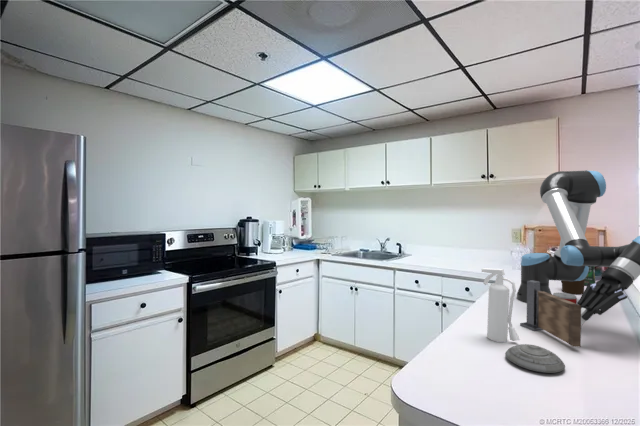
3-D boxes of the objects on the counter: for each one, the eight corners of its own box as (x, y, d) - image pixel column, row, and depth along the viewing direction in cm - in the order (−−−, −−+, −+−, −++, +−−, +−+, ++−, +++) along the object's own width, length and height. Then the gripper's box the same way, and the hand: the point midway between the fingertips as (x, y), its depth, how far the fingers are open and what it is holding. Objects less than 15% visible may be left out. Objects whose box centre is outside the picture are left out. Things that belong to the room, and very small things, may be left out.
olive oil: (590, 294, 172) (591, 247, 172) (573, 295, 170) (574, 248, 170) (572, 289, 183) (572, 245, 182) (555, 290, 181) (556, 245, 180)
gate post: (520, 325, 128) (520, 280, 128) (531, 323, 130) (532, 279, 129) (534, 331, 122) (534, 283, 122) (546, 329, 124) (546, 282, 124)
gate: (534, 325, 124) (535, 290, 124) (540, 325, 124) (541, 290, 124) (573, 346, 105) (573, 305, 105) (580, 346, 105) (581, 305, 105)
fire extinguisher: (515, 347, 108) (516, 273, 108) (478, 337, 117) (479, 268, 117) (522, 342, 113) (523, 270, 112) (486, 332, 122) (486, 265, 121)
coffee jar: (573, 284, 194) (574, 253, 194) (575, 282, 200) (576, 252, 200) (595, 287, 188) (595, 255, 187) (596, 284, 193) (596, 253, 193)
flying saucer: (509, 348, 108) (510, 332, 108) (566, 362, 99) (566, 344, 99) (500, 365, 97) (500, 347, 97) (563, 383, 87) (563, 363, 87)
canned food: (573, 319, 134) (573, 293, 134) (578, 326, 127) (579, 298, 127) (550, 317, 138) (551, 291, 137) (555, 323, 130) (555, 296, 130)
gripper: (648, 286, 104) (599, 340, 103) (610, 277, 117) (565, 325, 116) (633, 270, 103) (583, 324, 103) (596, 263, 116) (551, 311, 116)
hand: (573, 324), depth 109 cm, fingers closed
